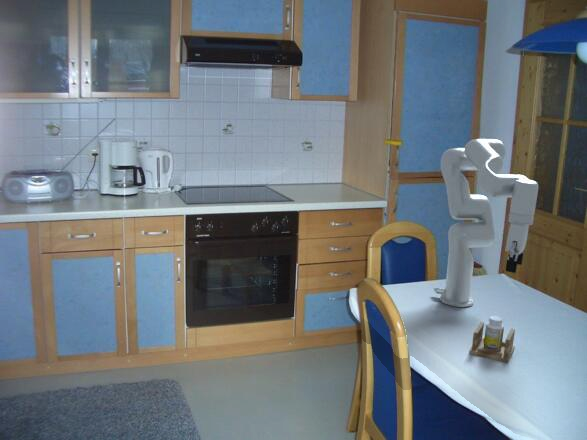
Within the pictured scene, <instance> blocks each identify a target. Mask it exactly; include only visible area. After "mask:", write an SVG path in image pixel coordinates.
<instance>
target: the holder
mask: <svg viewBox="0 0 587 440" xmlns="http://www.w3.org/2000/svg"><path fill="white" fill-rule="evenodd" d="M484 327H485V322H482V321H480V322H479V324H478V325H477V327H476V328H475V330H474V331H473V335H472V336H473V337H472V343H471V344H472V346H470V349H469V351H468V352H469V353H468V354H469V355H470V354H471V355H475V356H477V357H483V358H486V359H491V360H495V361H499V362H504V363H506V364H507V363H509V361H510V359H511V357H512V356H513V355H512V354H513V353H514V350H515V347H516V346H515V345H514V339H515V333H516V330H515V328H510V330H509V332H508V333H507V336H506V338H505V341H503V340H502V347H501V349H500V350H498V351H493V350H489V349H486V348H485V347H484V338H483V334H484Z"/></svg>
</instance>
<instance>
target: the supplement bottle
mask: <svg viewBox="0 0 587 440" xmlns="http://www.w3.org/2000/svg"><path fill="white" fill-rule="evenodd" d="M504 332H505V325H504V324H503V318H501V317H500V316H497V315H492V316H489V317H488V321H487V322H486V323H485V329H484V337H483V339H484V347H485V348H486V349H489V350H493V351H498V350H500V349H501V347H502V341H503V338H504Z"/></svg>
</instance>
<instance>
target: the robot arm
mask: <svg viewBox="0 0 587 440" xmlns="http://www.w3.org/2000/svg"><path fill="white" fill-rule="evenodd" d="M505 156H506V147H505V145H504V143H503V142H502V141H501V140H498V139H494V138H487V139H486V138H475V139H471V140H469V141H468V142H467V143H466V144H465V145H464V147H455V148H454V147H453V148H449V149H447V150H445V151H444V152H443V153H442V156H441V158H440V171H441V175H442V177H443V179H444V184H445V187H446V194H447V202H448V203H447V205H448V211H449V215H450V217H451V218H452V219H454V220H475V222H472V221H471V222H469V221H468V222H463V221H462V222H457V223H454V224H452V225H451V226H450V227H449V229H448V232H447V236H448V237H447V238H448V259H447V269H446V277H445V279H446V280H445V287H439V286H434V288H433V291H434V292H435V294H438V295H440V297H439V300H440V301H441V303H443V304H445V305H448V306H451V307H456V308H468V307H471V306H473V304H474V300H473V298H472V297H471V291H472V289H471V288H472V281H473V273H474V272H473V271H474V262H475V261H474V255H473V253H472V252H471V250H470V248H472V249H473V248H488V247H490V246H492V245H493V243H494V242H495V239H496V232H495V226H494V225H495V224H494V223H495V222H494V217H493V216H494V215H493V209H492V204H491V201H490V200H489V198H488V197H487V196H485V195H482V194H471V190H470V183H469V181H468V179H467V178H466V176H465V175H464V174H463V172H461V171H478V173H477V180H478V181H477V182H478V184H479V187H480V188H481V189H482V190H483V191H484V192H485V194H487V195H488V196H489V197H492V198H496V199H497V198H511V201H510V208H509V215H508V222H509V223H510V225H509V229H508V233H507V240H506V245H505V252H506V253H508V255H507V259H506V264H505V265H506V266H505V271H506V272H509V273H514V274H515V273H517V267H518V265H519V266H521V265H522V264H523V260H524V259H523V257H524V250H525V248H526V244H527V240H528V234H529V227H530V226H532V225H533V224H534V218H535V211H536V206H537V200H538V193H539V184H538V182H537V181H535V180H532V179H529V178H528V177H526V176H525V175H523V174H499V173H500V172H501V170H502V168H503V165H504V160H503V159H504V158H505Z"/></svg>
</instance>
